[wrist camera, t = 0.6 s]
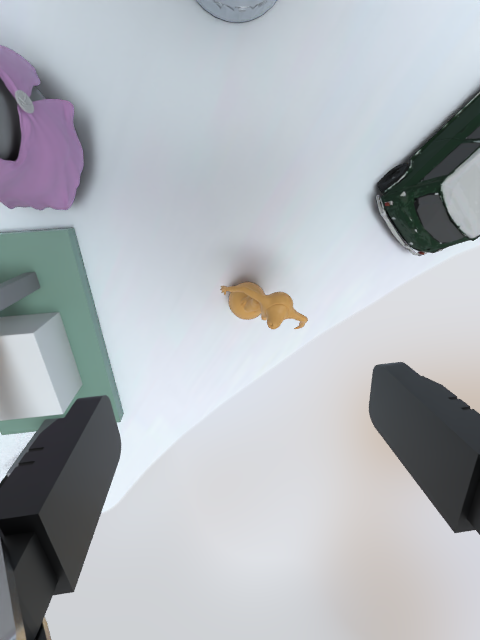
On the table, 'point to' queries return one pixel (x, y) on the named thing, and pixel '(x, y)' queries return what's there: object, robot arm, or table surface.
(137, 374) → the table surface
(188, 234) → the table surface
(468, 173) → the miniature car
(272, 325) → the figurine
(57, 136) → the toy character
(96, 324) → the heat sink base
